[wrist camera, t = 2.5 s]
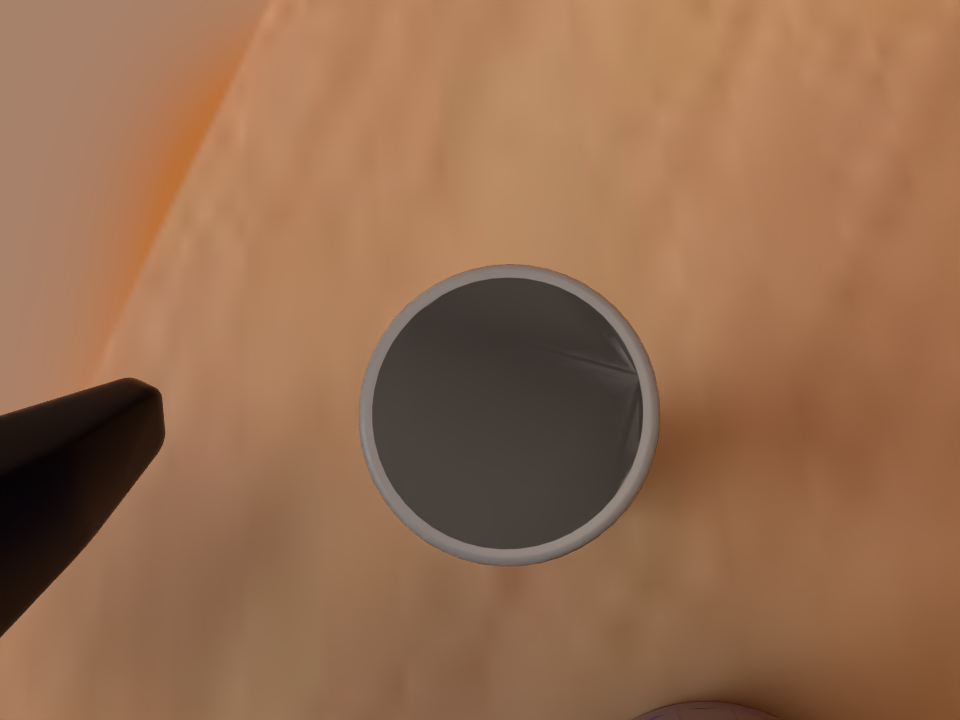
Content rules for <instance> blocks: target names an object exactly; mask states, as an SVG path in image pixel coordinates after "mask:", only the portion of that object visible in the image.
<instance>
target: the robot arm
mask: <svg viewBox="0 0 960 720" xmlns="http://www.w3.org/2000/svg"><path fill="white" fill-rule="evenodd" d="M164 438H165V425H164V414H163V403H162V396H161V393H160V392H159V390H158V389H157V388H155V387H153V386H151V385H149V384H147V383H144V382H142V381H140V380H138V379H135V378H123V379H119V380H116V381H113V382H109V383H106V384H103V385H100V386H96V387H93V388H90V389H86V390H83V391H80V392H76V393H73V394H70V395H67V396H63V397H60V398H57V399H54V400H50V401H47V402H44V403H40V404H37V405H34V406H30V407H27V408H24V409H20V410H17V411H14V412H11V413H8V414H4V415H1V416H0V638H1V636H2V635H3V634H4V633H5V632H6V631H7V630H8V629H9V628H10V627H11V626H12V625H13V624H14V623H15V622H16V621H17V619H18V618H19V617H20V616H21V615H22V614H23V613H24V612H25V611H26V610H27V609H28V608H29V607H30V606H31V605H32V604H33V603H34V601H35V600H36V599H37V598H38V597H39V596H40V595H41V594H42V593H43V592H44V591H45V590H46V589H47V588H48V587H49V586H50V584H51V583H52V582H53V581H54V580H55V579H56V578H57V577H58V576H59V575H60V574H61V573H62V572H63V571H64V570H65V569H66V568H67V566H68V565H69V564H70V563H71V562H72V561H73V560H74V559H75V558H76V557H77V556H78V555H79V553H80V552H81V551H82V550H83V549H84V548H85V547H86V546H87V544H88V543H89V542H90V541H91V539H92V538H93V537H94V536H95V535H96V533H97V532H98V531H99V530H100V528H101V527H102V526H103V524H104V523H105V522H106V520H107V519H108V518H109V516H110V515H111V514H112V513H113V511H114V510H115V509H116V507H117V506H118V505H119V503H120V502H121V501H122V499H123V498H124V497H125V496H126V494H127V493H128V492H129V490H130V489H131V488H132V486H133V485H134V484H135V482H136V481H137V480H138V479H139V477H140V476H141V475H142V473H143V472H144V471H145V469H146V468H147V467H148V465H149V464H150V463H151V462H152V460H153V459H154V458H155V456H156V455H157V454H158V452H159V451H160V449H161V447H162V445H163V442H164Z"/></svg>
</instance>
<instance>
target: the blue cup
mask: <svg viewBox="0 0 960 720" xmlns="http://www.w3.org/2000/svg"><path fill="white" fill-rule="evenodd" d="M633 720H782V719H779V718H777V717H775V716H772V715H770V714H767V713H765V712H762V711H760V710H756V709H753V708H749V707H745V706H742V705H737V704H730V703H723V702H689V703H681V704H674V705H671V706H667V707H663V708H660V709H656V710H653V711H651V712H649V713H646V714H644V715H642V716H640V717H637V718H635V719H633Z"/></svg>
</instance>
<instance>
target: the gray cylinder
mask: <svg viewBox="0 0 960 720" xmlns="http://www.w3.org/2000/svg"><path fill="white" fill-rule="evenodd" d="M659 425H660V404H659V392H658V387H657V382H656V378H655V373H654V370H653V368H652V365H651V362H650V359H649V356H648V354H647V352H646V350H645V348H644V346H643V344H642V342H641V340H640V338H639V336H638V335H637V333H636V332H635V331H634V329H633V328H632V326H631V325H630V323H629V322H628V321H627V319H626V318H625V317H624V316H623V315H622V314H621V313H620V312H619V311H618V309H617V308H616V307H615V306H614V305H612V304H611V303H610V302H609V301H608V300H607V299H605V298H604V297H603V296H602V295H601V294H599V293H598V292H596V291H595V290H593V289H592V288H590V287H589V286H587V285H586V284H584V283H582V282H580V281H578V280H576V279H574V278H572V277H569V276H567V275H565V274H562V273H559V272H556V271H552V270H549V269H545V268H540V267H535V266H529V265H513V264H507V265H493V266H486V267H481V268H476V269H472V270H469V271H466V272H463V273H460V274H457V275H454V276H452V277H450V278H448V279H445V280H443V281H441V282H439V283H437V284H435V285H434V286H432V287H431V288H429V289H428V290H426V291H425V292H423V293H422V294H420V295H419V296H418V297H417V298H415V299H414V300H413V301H412V302H411V303H409V304H408V305H407V306H406V307H405V308H404V309H403V310H402V311H401V312H400V313H399V315H398V316H397V317H396V318H395V319H394V320H393V321H392V323H391V324H390V325H389V327H388V328H387V330H386V331H385V332H384V334H383V335H382V337H381V339H380V340H379V342H378V344H377V346H376V348H375V350H374V351H373V354H372V356H371V359H370V361H369V364H368V366H367V369H366V372H365V376H364V380H363V384H362V388H361V396H360V404H359V430H360V437H361V445H362V449H363V453H364V457H365V460H366V464H367V467H368V469H369V472H370V474H371V477H372V479H373V481H374V484H375V485H376V487H377V489H378V491H379V492H380V494H381V496H382V498H383V499H384V501H385V502H386V503H387V505H388V506H389V507H390V509H391V510H392V511H393V513H394V514H395V515H396V516H397V517H398V518H399V519H400V520H401V521H402V522H403V523H404V524H405V525H406V526H407V527H408V528H409V529H410V530H411V531H412V532H414V533H415V534H416V535H418V536H419V537H420V538H422V539H423V540H424V541H425V542H427V543H429V544H431V545H432V546H434V547H436V548H438V549H439V550H441V551H443V552H445V553H448V554H450V555H453V556H455V557H458V558H460V559H464V560H467V561H471V562H475V563H479V564H486V565H494V566H524V565H530V564H537V563H542V562H546V561H549V560H552V559H556V558H559V557H562V556H564V555H566V554H569V553H571V552H573V551H575V550H577V549H580V548H581V547H583V546H584V545H586V544H588V543H589V542H591V541H592V540H594V539H596V538H597V537H598V536H600V535H601V534H602V533H603V532H604V531H606V530H607V529H608V528H609V527H610V526H612V525H613V524H614V523H615V522H616V521H617V519H618V518H619V517H620V516H621V515H622V514H623V513H624V512H625V511H626V510H627V508H628V507H629V505H630V504H631V503H632V501H633V500H634V498H635V497H636V495H637V494H638V492H639V491H640V489H641V487H642V485H643V483H644V481H645V479H646V477H647V475H648V472H649V470H650V467H651V464H652V461H653V458H654V455H655V451H656V446H657V441H658V436H659Z"/></svg>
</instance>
